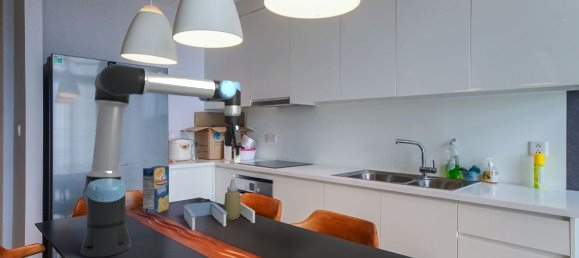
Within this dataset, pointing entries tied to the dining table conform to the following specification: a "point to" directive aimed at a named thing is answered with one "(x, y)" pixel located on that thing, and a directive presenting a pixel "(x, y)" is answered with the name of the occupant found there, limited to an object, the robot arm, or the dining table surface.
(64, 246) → the dining table surface
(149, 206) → the blue food box
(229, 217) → the squeeze bottle
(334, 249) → the dining table surface
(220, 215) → the divider rack
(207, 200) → the can opener
